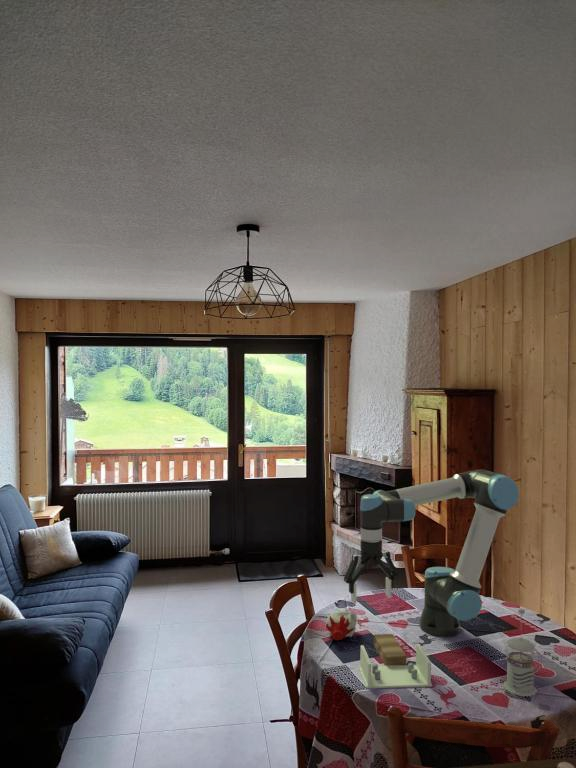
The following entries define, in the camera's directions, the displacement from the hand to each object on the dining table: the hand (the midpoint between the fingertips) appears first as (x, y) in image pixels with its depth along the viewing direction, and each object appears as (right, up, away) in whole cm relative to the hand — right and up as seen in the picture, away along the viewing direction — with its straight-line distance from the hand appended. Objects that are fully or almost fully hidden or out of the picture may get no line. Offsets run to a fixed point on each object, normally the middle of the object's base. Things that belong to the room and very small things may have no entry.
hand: (371, 599), depth 194 cm
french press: (+45, -20, -20) cm, 53 cm away
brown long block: (+6, -19, -1) cm, 20 cm away
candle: (-10, -19, +12) cm, 24 cm away
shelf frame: (+5, -19, -15) cm, 25 cm away
